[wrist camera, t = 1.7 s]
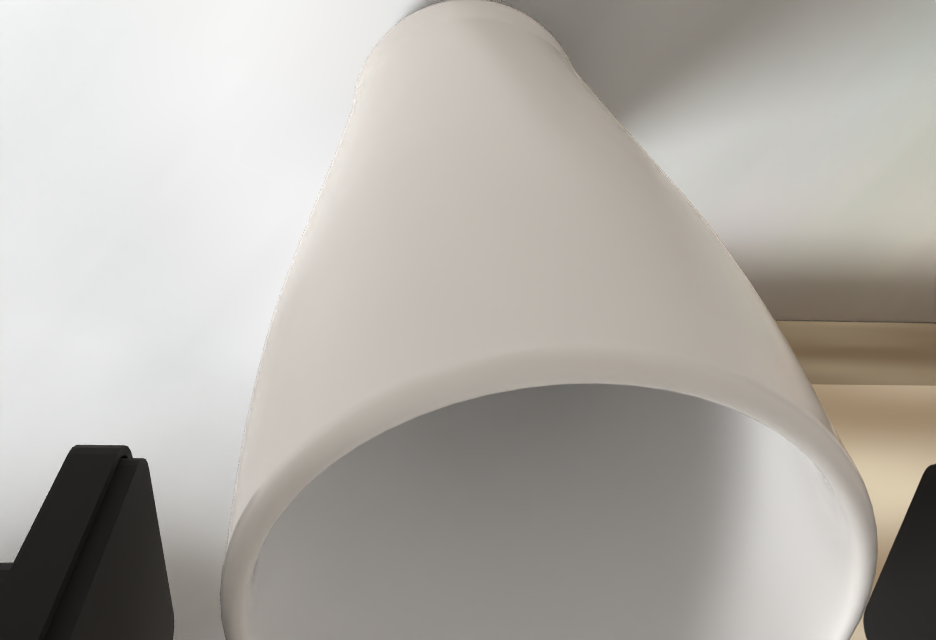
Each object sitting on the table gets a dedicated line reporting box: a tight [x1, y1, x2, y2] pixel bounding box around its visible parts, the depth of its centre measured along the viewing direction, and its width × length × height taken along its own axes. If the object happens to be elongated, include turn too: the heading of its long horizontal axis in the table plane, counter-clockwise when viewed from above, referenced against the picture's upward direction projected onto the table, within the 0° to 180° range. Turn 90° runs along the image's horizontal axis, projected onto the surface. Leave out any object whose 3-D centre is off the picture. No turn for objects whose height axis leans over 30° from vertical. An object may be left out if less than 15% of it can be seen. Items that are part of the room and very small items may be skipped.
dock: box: [776, 321, 936, 640], centre depth 27 cm, size 14×14×6 cm
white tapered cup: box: [220, 0, 878, 640], centre depth 15 cm, size 7×7×15 cm
